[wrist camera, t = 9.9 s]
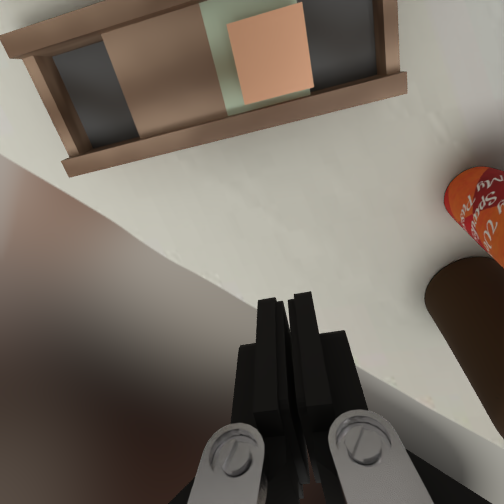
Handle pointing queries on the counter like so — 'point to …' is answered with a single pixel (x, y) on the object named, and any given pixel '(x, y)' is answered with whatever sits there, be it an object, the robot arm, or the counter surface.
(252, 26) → the block
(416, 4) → the counter surface
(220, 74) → the box
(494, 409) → the olive oil
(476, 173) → the paper cup
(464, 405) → the counter surface
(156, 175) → the counter surface
